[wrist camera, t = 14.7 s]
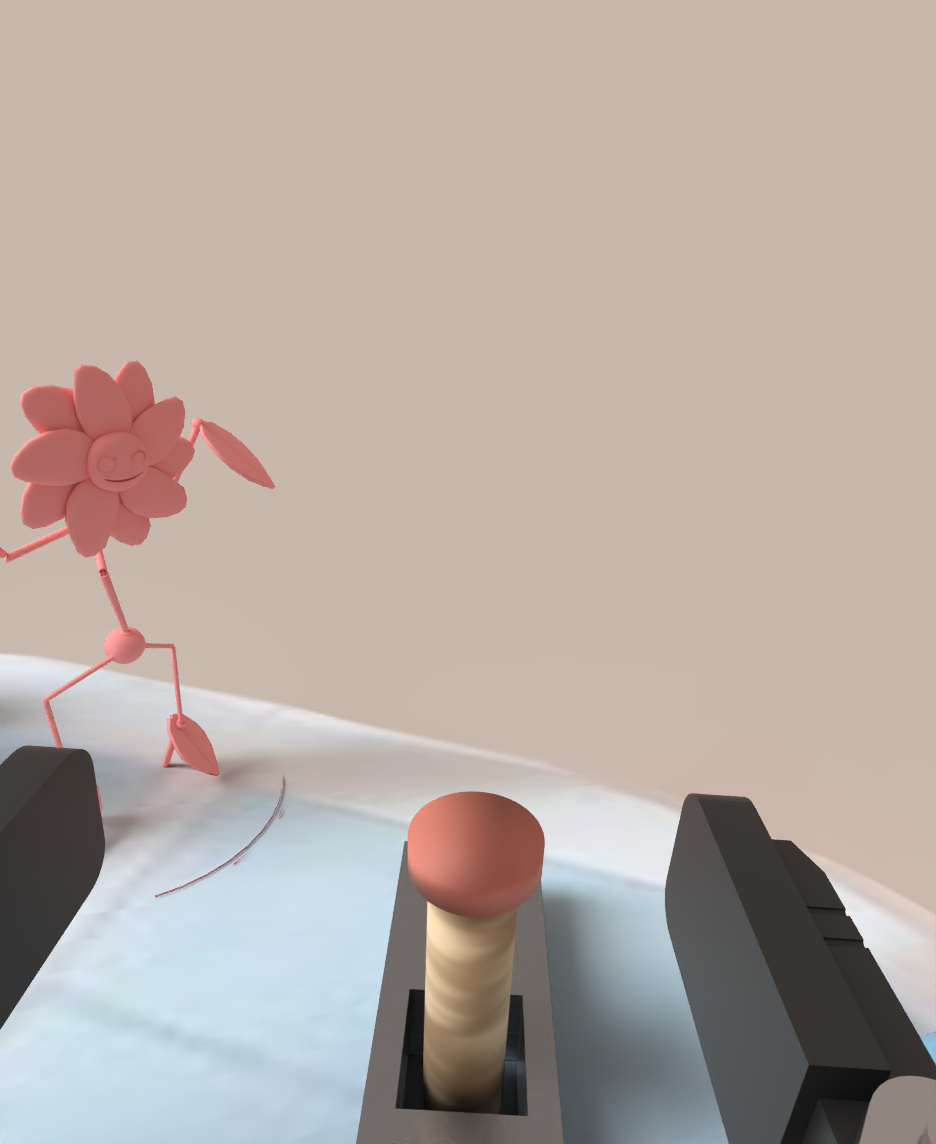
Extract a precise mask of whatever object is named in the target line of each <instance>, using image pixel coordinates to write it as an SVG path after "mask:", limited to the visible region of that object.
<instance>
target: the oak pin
mask: <svg viewBox="0 0 936 1144" xmlns="http://www.w3.org/2000/svg"><path fill="white" fill-rule="evenodd" d="M544 846H545V841H544V834H543V831H542V828H541V826H540V824H539V822H538V821H537V820H536V818H535V817H534V816H533V815H532V814H531V813H530V812H529V811H528V810H527V809H526V808H524V807H523V806H521V805H520V804H518V803H516V802H515V801H512V800H510V799H508V798H505V797H503V796H499V795H496V794H491V793H485V792H460V793H454V794H450V795H446V796H443V797H440V798H438V799H436V800H434V801H432V802H430V803H428V804H427V805H425V806H424V807H423V808H422V809H421V810H420V811H419V812H418V813H417V814H416V815H415V817H414V818H413V820H412V822H411V824H410V827H409V831H408V862H407V866H408V874H409V877H410V880H411V882H412V884H413V886H414V887H415V889H416V890H417V891H418V893H419V894H420V895H421V896H422V897H423V898H424V899H426V900H427V901H428V902H427V939H426V977H425V1015H424V1053H423V1091H422V1110H430V1111H447V1112H464V1113H481V1114H498V1115H500V1111H501V1099H502V1087H503V1076H504V1064H505V1052H506V1040H507V1028H508V1016H509V1004H510V992H511V981H512V969H513V957H514V945H515V933H516V921H517V909H518V907H519V906H521V905H522V904H524V903H525V902H526V901H527V900H528V899H529V898H530V897H531V896H532V895H533V894H534V893H535V891H536V889H537V888H538V886H539V883H540V880H541V875H542V866H543V856H544Z"/></svg>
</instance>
